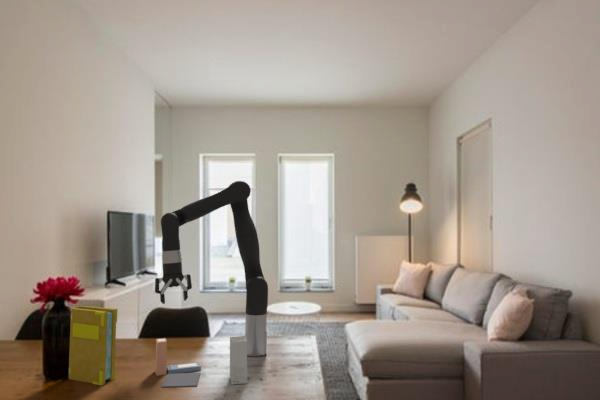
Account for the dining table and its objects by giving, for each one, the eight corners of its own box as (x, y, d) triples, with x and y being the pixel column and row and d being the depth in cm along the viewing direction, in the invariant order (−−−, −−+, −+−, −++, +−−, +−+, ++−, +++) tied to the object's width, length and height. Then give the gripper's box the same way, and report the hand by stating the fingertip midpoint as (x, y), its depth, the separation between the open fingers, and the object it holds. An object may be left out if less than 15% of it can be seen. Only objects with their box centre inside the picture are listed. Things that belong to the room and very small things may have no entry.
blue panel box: (198, 365, 170) (198, 361, 170) (200, 370, 165) (200, 366, 165) (167, 369, 165) (167, 365, 165) (168, 374, 161) (168, 369, 161)
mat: (200, 373, 161) (200, 372, 161) (197, 386, 149) (197, 385, 149) (167, 374, 160) (167, 373, 160) (161, 387, 148) (161, 386, 148)
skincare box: (247, 384, 152) (248, 341, 153) (230, 385, 151) (231, 342, 152) (245, 375, 160) (245, 335, 161) (228, 376, 159) (229, 335, 160)
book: (115, 378, 155) (117, 308, 156) (101, 385, 149) (103, 312, 150) (78, 372, 161) (81, 305, 162) (63, 378, 155) (66, 308, 156)
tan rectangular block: (165, 369, 165) (165, 338, 165) (166, 374, 160) (167, 341, 161) (155, 371, 164) (156, 338, 164) (156, 375, 159) (157, 342, 159)
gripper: (187, 259, 183) (189, 298, 181) (152, 263, 176) (154, 303, 175) (191, 260, 176) (194, 300, 175) (155, 263, 169) (157, 305, 168)
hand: (174, 301), depth 175 cm, fingers open, 8 cm apart
